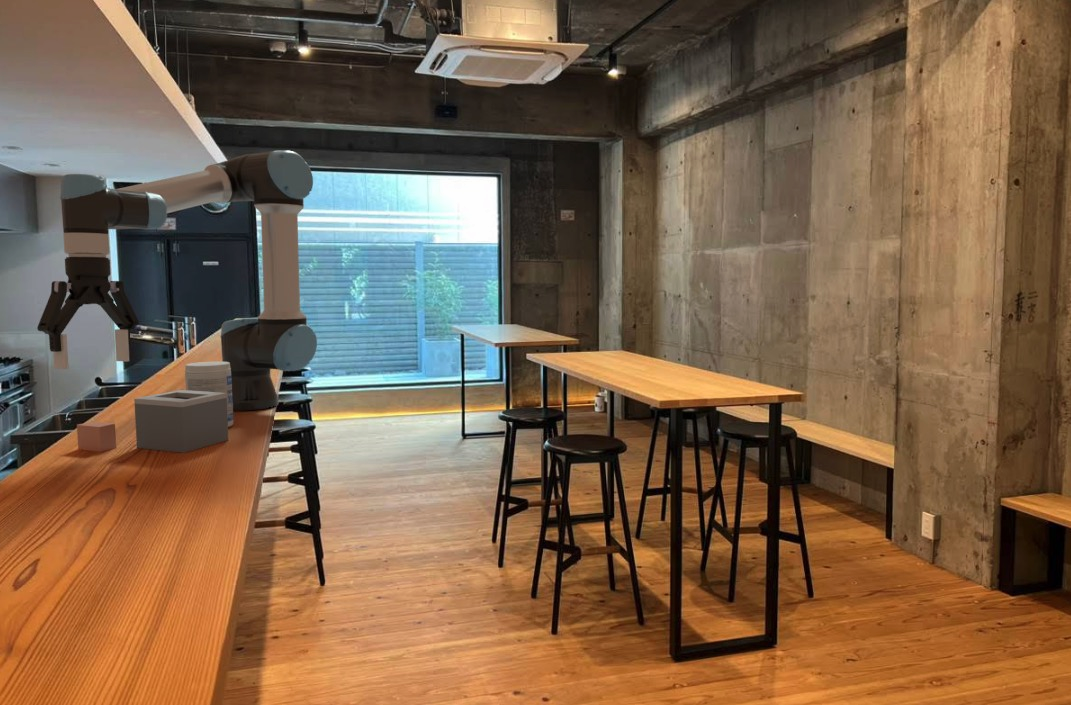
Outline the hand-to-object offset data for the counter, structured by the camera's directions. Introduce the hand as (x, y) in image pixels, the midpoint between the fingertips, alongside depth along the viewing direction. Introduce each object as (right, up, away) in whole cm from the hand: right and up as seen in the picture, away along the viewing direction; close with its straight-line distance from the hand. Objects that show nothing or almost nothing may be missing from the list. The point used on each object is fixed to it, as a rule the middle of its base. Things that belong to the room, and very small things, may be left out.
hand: (93, 365), depth 145 cm
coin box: (+15, -16, +6) cm, 23 cm away
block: (0, -17, +2) cm, 17 cm away
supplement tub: (+13, -15, +22) cm, 30 cm away
